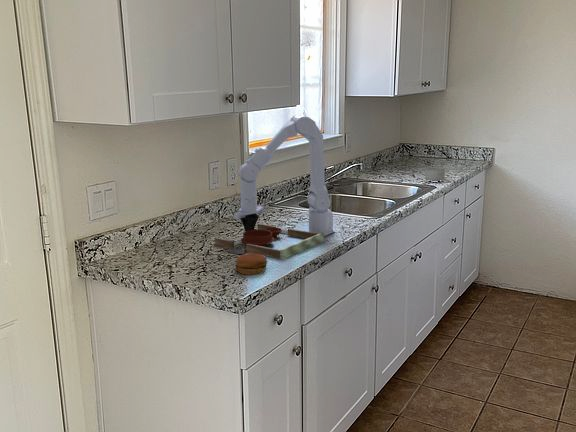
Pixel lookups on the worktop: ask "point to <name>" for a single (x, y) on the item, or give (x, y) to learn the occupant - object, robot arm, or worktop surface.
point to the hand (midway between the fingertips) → (249, 235)
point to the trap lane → (283, 253)
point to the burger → (251, 263)
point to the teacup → (435, 173)
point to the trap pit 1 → (235, 251)
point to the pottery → (260, 236)
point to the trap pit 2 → (284, 232)
